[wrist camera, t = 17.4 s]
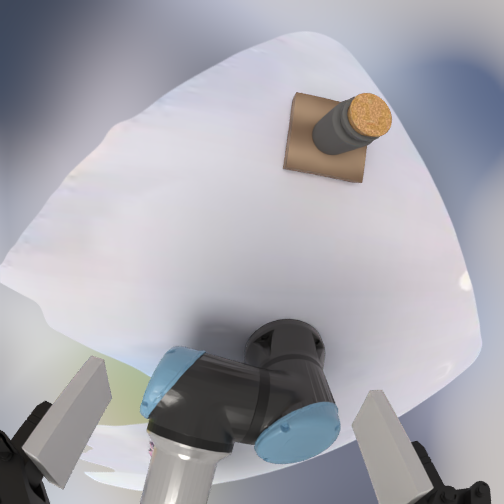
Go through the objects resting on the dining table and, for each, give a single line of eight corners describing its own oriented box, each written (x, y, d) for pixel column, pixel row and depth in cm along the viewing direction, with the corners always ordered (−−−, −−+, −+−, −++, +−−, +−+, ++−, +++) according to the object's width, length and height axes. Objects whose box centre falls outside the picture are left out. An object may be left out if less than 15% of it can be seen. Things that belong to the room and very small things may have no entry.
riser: (353, 182, 43) (362, 182, 39) (283, 168, 42) (286, 167, 38) (360, 115, 40) (370, 110, 36) (292, 99, 39) (296, 92, 35)
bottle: (352, 126, 37) (400, 102, 22) (343, 160, 38) (390, 151, 23) (317, 112, 36) (351, 78, 22) (307, 147, 37) (339, 128, 23)
